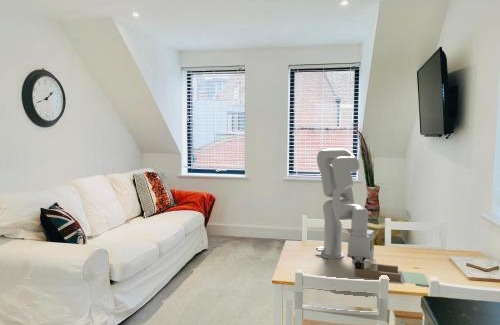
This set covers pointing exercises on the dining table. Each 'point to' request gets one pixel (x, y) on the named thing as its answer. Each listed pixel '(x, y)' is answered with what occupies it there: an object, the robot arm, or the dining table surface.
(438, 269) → the dining table surface
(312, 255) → the dining table surface
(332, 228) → the robot arm
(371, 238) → the supplement box
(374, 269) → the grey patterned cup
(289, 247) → the dining table surface
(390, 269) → the channel board
